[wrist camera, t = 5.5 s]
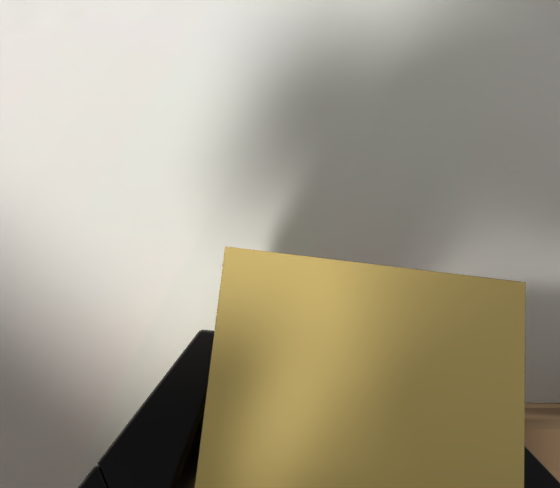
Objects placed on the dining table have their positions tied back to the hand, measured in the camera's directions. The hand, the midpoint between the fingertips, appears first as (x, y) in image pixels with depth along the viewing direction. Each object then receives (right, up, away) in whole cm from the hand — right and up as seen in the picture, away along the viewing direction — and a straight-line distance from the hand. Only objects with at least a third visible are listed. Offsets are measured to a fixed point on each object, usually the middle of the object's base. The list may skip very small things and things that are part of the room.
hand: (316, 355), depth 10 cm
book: (-1, -3, +7) cm, 7 cm away
